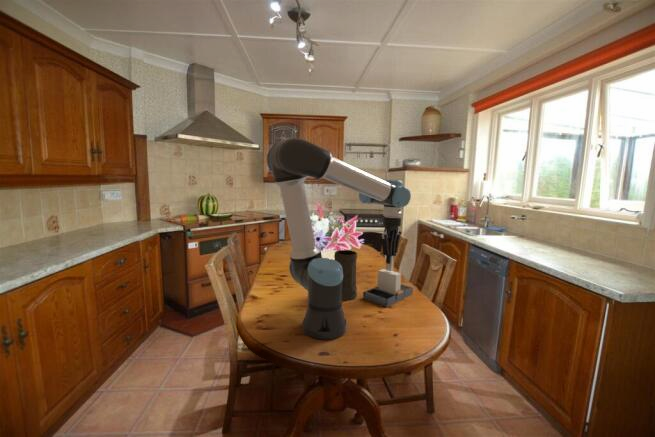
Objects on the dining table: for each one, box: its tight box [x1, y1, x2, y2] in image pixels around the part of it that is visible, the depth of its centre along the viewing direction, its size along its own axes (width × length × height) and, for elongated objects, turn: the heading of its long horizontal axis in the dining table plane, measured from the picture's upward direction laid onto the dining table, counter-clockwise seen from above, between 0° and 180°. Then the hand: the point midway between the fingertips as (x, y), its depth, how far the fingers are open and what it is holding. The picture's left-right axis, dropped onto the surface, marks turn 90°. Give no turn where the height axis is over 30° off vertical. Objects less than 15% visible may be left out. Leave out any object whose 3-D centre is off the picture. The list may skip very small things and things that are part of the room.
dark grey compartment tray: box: [362, 283, 414, 308], centre depth 133 cm, size 20×12×4 cm, turn 135°
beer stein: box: [333, 249, 358, 301], centre depth 134 cm, size 15×11×20 cm
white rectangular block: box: [377, 268, 402, 295], centre depth 133 cm, size 4×9×10 cm, turn 47°
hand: (389, 270), depth 132 cm, fingers closed
